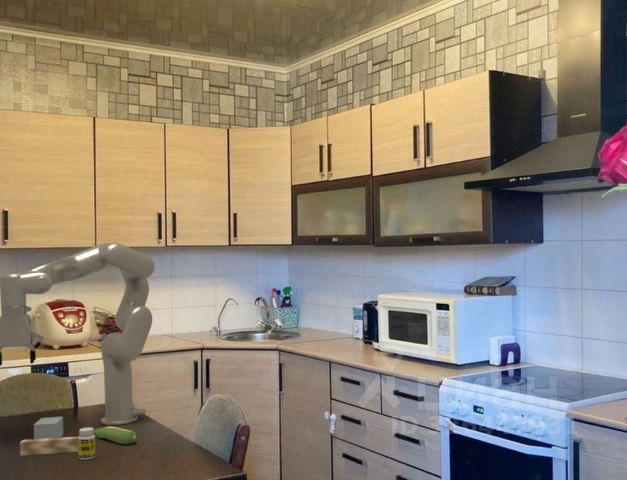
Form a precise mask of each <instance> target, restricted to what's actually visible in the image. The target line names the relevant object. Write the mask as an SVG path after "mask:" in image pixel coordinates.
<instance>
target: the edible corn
mask: <svg viewBox="0 0 627 480" xmlns="http://www.w3.org/2000/svg"><path fill="white" fill-rule="evenodd" d="M93 430H94V433H93V434H94V435H97V437H98V438H101V439H106V440H108V441H112V442H114V443H117V444H120V445H124V446H125V445H132V444H133V443H135V442H136V441H137V433H136V431H134V430H133V429H131V428H126V427H119V426H118V427H116V426H114V425H107V426H105V427H100V428H96V429H93Z"/></svg>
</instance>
